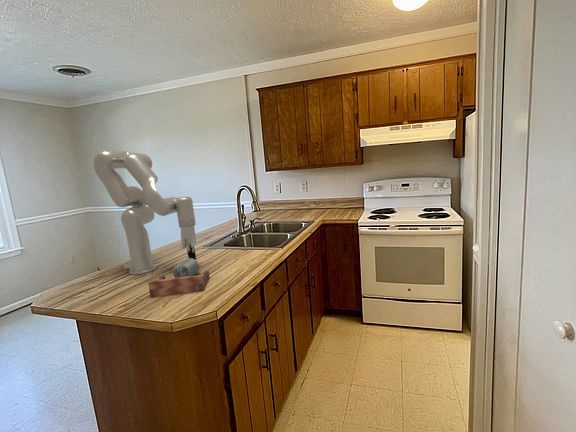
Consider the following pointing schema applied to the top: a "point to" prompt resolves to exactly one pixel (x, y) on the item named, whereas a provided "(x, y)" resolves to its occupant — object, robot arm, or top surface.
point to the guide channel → (178, 285)
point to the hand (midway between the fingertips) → (192, 260)
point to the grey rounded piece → (186, 268)
